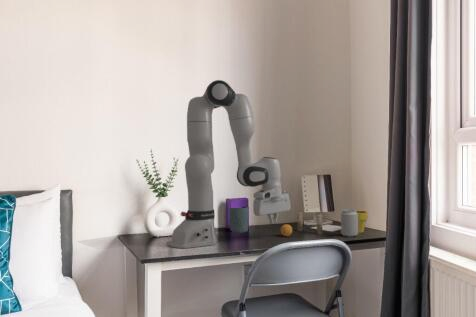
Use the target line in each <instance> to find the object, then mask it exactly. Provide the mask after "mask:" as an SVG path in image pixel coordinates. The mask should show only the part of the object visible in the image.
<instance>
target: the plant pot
mask: <svg viewBox="0 0 476 317" xmlns="http://www.w3.org/2000/svg"><path fill="white" fill-rule="evenodd" d="M355 210H356V212H357V213H358V234H360V233H365V227H366V223H367V220H368V218H369V214H368V213H369V212H368V211H366V210H360V209H359V210H357V209H355Z"/></svg>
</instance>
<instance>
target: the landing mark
mask: <svg viewBox="0 0 476 317" xmlns="http://www.w3.org/2000/svg"><path fill="white" fill-rule="evenodd" d="M310 229H314V230H317V226H312V227H310ZM322 231H324V232H336V231H341V225H334V224H333V225H332V224H322Z"/></svg>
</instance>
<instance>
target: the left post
mask: <svg viewBox="0 0 476 317" xmlns="http://www.w3.org/2000/svg"><path fill="white" fill-rule="evenodd" d="M303 214H304V213H303V211H297V212H296V215H297V216H296V218H297V219H296V220H297V224H296V225H297V230H296V231H300V232H301V231H303V229H304V226H303V222H304V220H303V216H304V215H303Z"/></svg>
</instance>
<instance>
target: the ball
mask: <svg viewBox="0 0 476 317" xmlns="http://www.w3.org/2000/svg"><path fill="white" fill-rule="evenodd" d="M280 233H281V235H282V236H284V237H289V236H291V234H292V233H293V227H292V226H291V225H290V224H283V225H282V226H281V227H280Z"/></svg>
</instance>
